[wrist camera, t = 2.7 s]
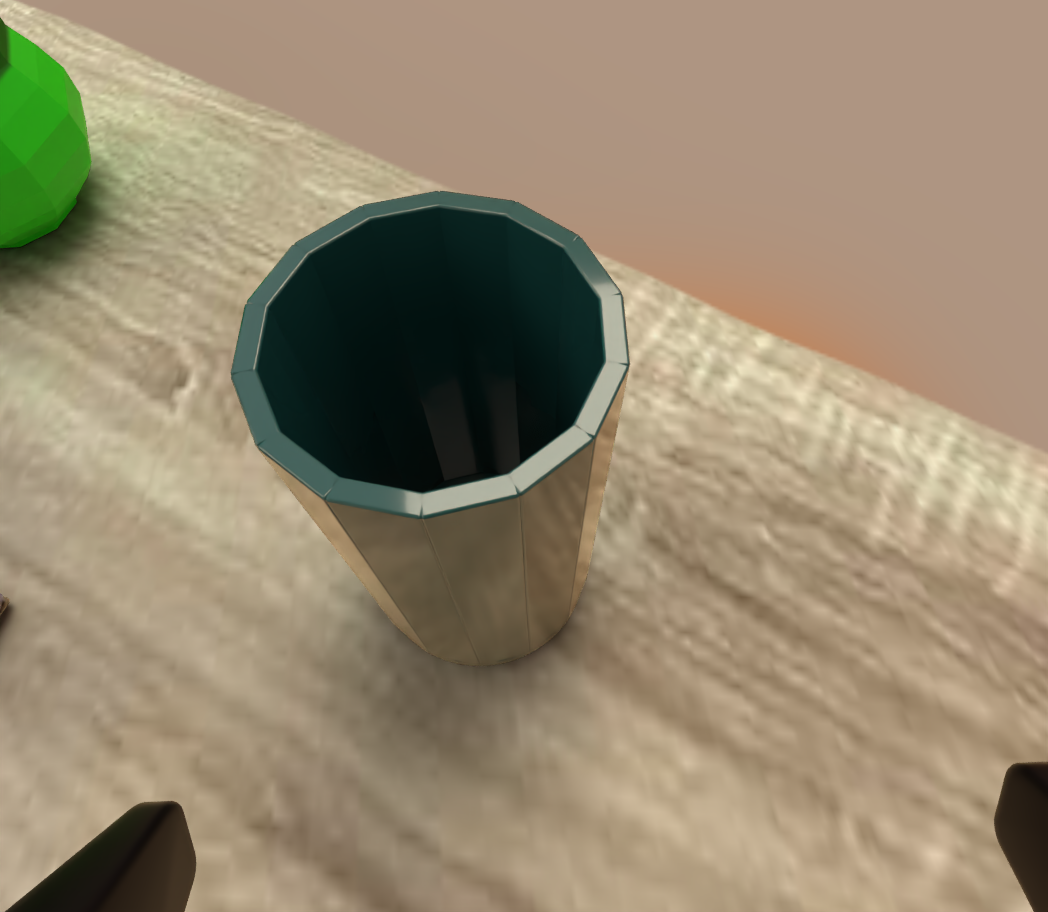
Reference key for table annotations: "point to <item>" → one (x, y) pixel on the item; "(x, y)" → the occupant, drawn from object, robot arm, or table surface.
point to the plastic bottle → (37, 141)
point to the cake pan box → (3, 603)
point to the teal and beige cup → (444, 410)
